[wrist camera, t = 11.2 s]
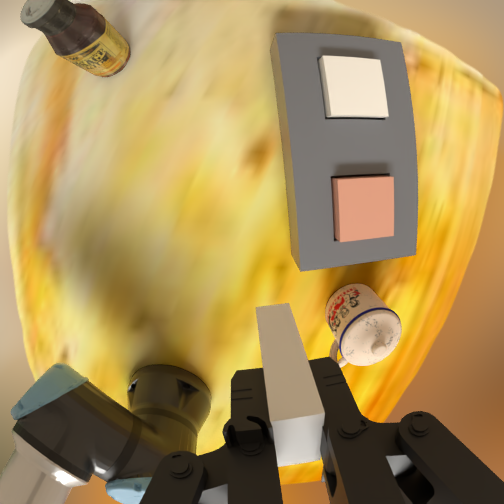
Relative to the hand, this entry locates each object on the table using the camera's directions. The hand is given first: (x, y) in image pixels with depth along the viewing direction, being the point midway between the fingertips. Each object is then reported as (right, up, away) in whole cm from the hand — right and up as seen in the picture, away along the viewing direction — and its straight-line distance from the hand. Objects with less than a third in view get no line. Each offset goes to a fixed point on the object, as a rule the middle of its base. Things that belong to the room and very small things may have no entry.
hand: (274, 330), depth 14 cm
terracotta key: (+12, +10, +22) cm, 26 cm away
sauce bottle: (-20, +30, +17) cm, 40 cm away
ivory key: (+10, +23, +17) cm, 30 cm away
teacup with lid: (+13, -6, +31) cm, 34 cm away
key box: (+11, +17, +23) cm, 31 cm away
